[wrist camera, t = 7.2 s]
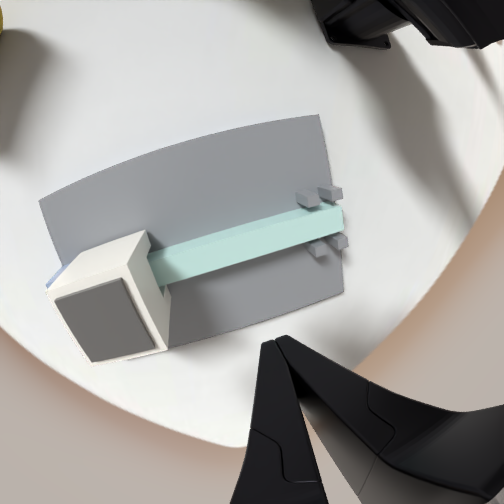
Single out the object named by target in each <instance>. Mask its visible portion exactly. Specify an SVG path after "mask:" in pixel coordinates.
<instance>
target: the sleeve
mask: <svg viewBox="0 0 504 504" xmlns="http://www.w3.org/2000/svg"><path fill="white" fill-rule="evenodd" d="M150 247H151V244H150V241H149V238H148V235H147V233H146V230H142V231H139V232H136V233H133V234H131V235H128V236H125V237H122V238H119V239H116V240H113V241H111V242H108V243H105V244H102V245H100V246H97V247H94V248H92V249H89V250H86V251H84V252H81V253H80V254H79V255H78V256H77V257H76V258H75V259H74V260H73V261H72V262H71V263H70V264H69V266H68V267H67V268H66V269H65V270H64V271H63V272H62V273H61V274H60V275H59V277H58V278H57V279H56V280H55V281H54V282H53V283H52V284H51V286H50V287H49V288H48V289H47V290H46V291H45V293H46V295H47V297H48V298H49V300H50V302H51V304H52V306H53V308H54V310H55V311H56V313H57V315H58V317H59V319H60V320H61V322H62V324H63V325H64V327H65V329H66V330H67V332H68V334H69V335H70V337H71V338H72V340H73V341H74V343H75V345H76V346H77V348H78V349H79V351H80V352H81V354H82V355H83V356H84V358H85V359H86V361H87V362H88V364H89V365H90V366H91V367H93V366H98V365H103V364H108V363H113V362H118V361H123V360H127V359H132V358H136V357H141V356H145V355H149V354H153V353H158V352H162V351H166V350H168V338H169V321H170V307H171V295H170V292H169V290H168V288H167V285H163V286H160V287H158V284H157V282H156V280H155V277H154V275H153V272H152V270H151V267H150V265H149V262H148V260H147V255H148V252H149V249H150Z"/></svg>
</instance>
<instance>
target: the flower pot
mask: <svg viewBox="0 0 504 504" xmlns="http://www.w3.org/2000/svg"><path fill="white" fill-rule="evenodd" d="M2 30H3V16H2V10H1V7H0V34H1V32H2Z"/></svg>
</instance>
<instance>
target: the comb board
mask: <svg viewBox="0 0 504 504" xmlns="http://www.w3.org/2000/svg"><path fill="white" fill-rule="evenodd" d="M340 199H343V194H342V188H339V187H336V186H332V180H331V174H330V168H329V163H328V157H327V152H326V146H325V141H324V136H323V131H322V127H321V122H320V117H319V114H318V115H310V116H302V117H295V118H289V119H282V120H276V121H271V122H265V123H260V124H255V125H250V126H245V127H240V128H236V129H231V130H227V131H223V132H219V133H215V134H211V135H207V136H203V137H199V138H196V139H192V140H188V141H185V142H181V143H178V144H175V145H172V146H168V147H165V148H162V149H159V150H156V151H153V152H150V153H147V154H144V155H141V156H138V157H136V158H133V159H130V160H127V161H125V162H122V163H120V164H117V165H114V166H112V167H109V168H107V169H104V170H102V171H100V172H97V173H95V174H93V175H90V176H88V177H86V178H83V179H81V180H79V181H77V182H75V183H73V184H70V185H68V186H66V187H64V188H62V189H60V190H58V191H56V192H54V193H52V194H50V195H48V196H46V197H44V198H42V199H41V200H39V204H40V207H41V210H42V214H43V217H44V219H45V222H46V225H47V228H48V231H49V234H50V236H51V239H52V241H53V244H54V246H55V249H56V251H57V254H58V256H59V259H60V261H61V263H62V267H61V268H60V269H59V270H58V272H57V273H56V274H55V275H54V276H53V277H52V278H51V279H50V280H49V281H48V282H47V283H46V287H47V289H48V288H49V287H50V286H51V284H52V283H53V282H54V281H55V280H56V279H57V278H58V277H59V275H60V274H61V273H62V272H63V271H64V270H65V269H66V268H67V267H68V266H69V264H70V263H71V262H72V261H73V260H74V259H75V258H76V257H77V256H78V255H79V254H80V253H81V252H84V251H86V250H89V249H92V248H94V247H97V246H100V245H102V244H105V243H108V242H111V241H113V240H116V239H119V238H122V237H125V236H128V235H131V234H133V233H136V232H139V231H142V230H146V233H147V235H148V238H149V241H150V244H151V247H150V249H149V252H148V255H147V260H148V262H149V265H150V267H151V270H152V272H153V275H154V277H155V280H156V282H157V284H158V287H160V286H163V285H167V288H168V290H169V292H170V295H171V307H170V321H169V338H168V349H169V348H173V347H176V346H180V345H184V344H188V343H191V342H195V341H199V340H202V339H206V338H209V337H213V336H216V335H220V334H223V333H226V332H230V331H233V330H236V329H239V328H243V327H246V326H249V325H252V324H255V323H258V322H261V321H264V320H267V319H270V318H273V317H276V316H279V315H282V314H285V313H288V312H291V311H293V310H296V309H299V308H302V307H305V306H307V305H310V304H313V303H315V302H318V301H321V300H323V299H326V298H329V297H331V296H334V295H336V294H339V293H341V292H344V287H343V273H342V261H341V250H340V249H343V248H346V247H348V237H346V236H344V235H343V234H341V233H339V231H343V230H344V224H343V215H342V207H341V205H338V204H335V201H336V200H340Z"/></svg>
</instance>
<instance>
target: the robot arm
mask: <svg viewBox="0 0 504 504" xmlns="http://www.w3.org/2000/svg"><path fill="white" fill-rule="evenodd" d="M311 1H312V4H313V7H314V9H315V12H316V14H317V17H318V20H319V21H320V23H321V26H322V29H323V32H324V35H325V38H326V40H327V42H328V43H330V44H332V45H346V46H358V47H368V48H376V49H384V50H387V49H390V48H391V44H390V41H389V38H388V35H387V34H388V33H390V32H392V31H395V30H397V29H400V28H402V27H405V26H407V25H410V24H413V25H414V26H415V27H416V28H417V29H418V30H419V31H420V32H421V33H422V35H423V36H424V37H425V38H426V40H427V41H428V43H429V44H430V45H437V46H451V47H456V48H471V49H474V48H475V49H478V48H479V49H483V48H484V47H486V46H488V45H490V44H491V43H494V42H497V41H499V40H503V39H504V0H311ZM331 37H333V38H334V40H332V38H331ZM384 43H385V44H386V45H385V44H384ZM301 409H302V410H301ZM302 411H303V412H304V414H305V416H306V417H307V419H308V421H309V422H310V424H311V425H312V427H313V429H314V430H315V432H316V434H317V435H318V437H319V438H320V440H321V442H322V443H323V445H324V446H325V448H326V450H327V451H328V453H329V454H330V456H331V457H332V459H333V460H334V462H335V464H336V465H337V467H338V468H339V470H340V471H341V473H342V474H343V476H344V477H345V479H346V480H347V482H348V483H349V485H350V486H351V488H352V489H353V491H354V492H355V494H356V495H357V496H358V498H359V500H360V501H361V503H362V504H504V404H503V405H499V406H495V407H490V408H486V409H481V410H476V411H470V412H456V411H449V410H445V409H442V408H439V407H435V406H432V405H429V404H425V403H422V402H419V401H416V400H413V399H410V398H407V397H405V396H402V395H399V394H396V393H394V392H392V391H390V390H388V389H385V388H383V387H381V386H379V385H377V384H375V383H373V382H371V381H368V380H367V379H366V378H363V377H362V376H360V375H358V374H356V373H354V372H352V371H350V370H349V369H347V368H345V367H343V366H341V365H339V364H338V363H336V362H334V361H332V360H330V359H329V358H327V357H325V356H323V355H321V354H320V353H318V352H316V351H314V350H313V349H311V348H309V347H307V346H306V345H304V344H302V343H300V342H299V341H297V340H295V339H294V338H292V337H290V336H288V335H284V336H281V337H278V338H276V339H275V341H274V340H269V341H266V342H263V343H262V344H261V350H260V358H259V366H258V373H257V381H256V389H255V396H254V404H253V411H252V418H251V425H250V428H251V429H250V431H249V438H248V444H247V449H246V454H245V458H244V462H243V465H242V469H241V472H240V476H239V478H238V481H237V484H236V487H235V490H234V493H233V496H232V498H231V501H230V504H329V503H328V500H327V497H326V493H325V490H324V487H323V484H322V480H321V476H320V473H319V469H318V466H317V463H316V459H315V455H314V452H313V448H312V445H311V442H310V438H309V435H308V431H307V428H306V424H305V421H304V417H303V414H302Z"/></svg>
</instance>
